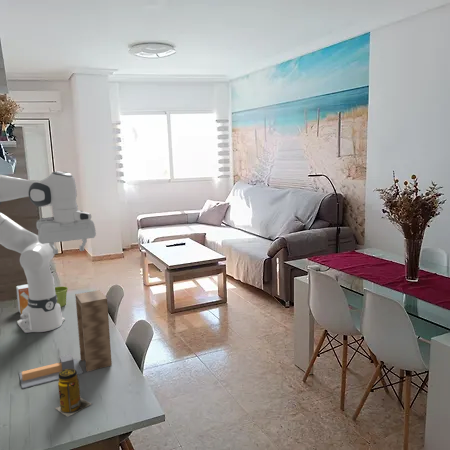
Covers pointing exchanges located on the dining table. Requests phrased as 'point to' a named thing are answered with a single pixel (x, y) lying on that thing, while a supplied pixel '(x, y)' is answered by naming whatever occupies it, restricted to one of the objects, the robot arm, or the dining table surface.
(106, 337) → the walnut shelf
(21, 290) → the small box
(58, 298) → the plant pot
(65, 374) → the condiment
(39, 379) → the grey mat
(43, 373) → the hammer with orange handle
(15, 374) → the dining table surface
